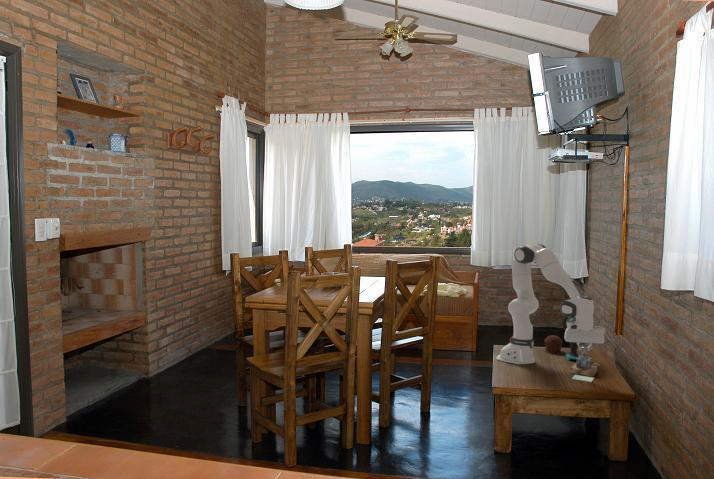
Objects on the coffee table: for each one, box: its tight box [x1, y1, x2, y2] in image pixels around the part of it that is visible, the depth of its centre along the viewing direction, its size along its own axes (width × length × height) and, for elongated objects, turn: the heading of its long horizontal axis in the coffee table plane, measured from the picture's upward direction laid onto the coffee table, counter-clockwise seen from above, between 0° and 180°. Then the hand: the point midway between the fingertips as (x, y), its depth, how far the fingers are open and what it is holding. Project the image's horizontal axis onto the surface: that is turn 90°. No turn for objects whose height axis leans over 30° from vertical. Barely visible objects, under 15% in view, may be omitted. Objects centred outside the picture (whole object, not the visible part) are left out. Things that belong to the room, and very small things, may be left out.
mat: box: [571, 374, 595, 383], centre depth 308 cm, size 10×8×1 cm
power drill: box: [564, 317, 581, 361], centre depth 344 cm, size 26×9×25 cm, turn 168°
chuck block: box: [570, 356, 600, 378], centre depth 319 cm, size 14×12×8 cm
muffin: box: [543, 334, 564, 354], centre depth 365 cm, size 12×11×10 cm
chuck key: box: [580, 345, 588, 367], centre depth 307 cm, size 8×3×10 cm, turn 168°
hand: (584, 350), depth 307 cm, fingers closed on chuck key, 3 cm apart
